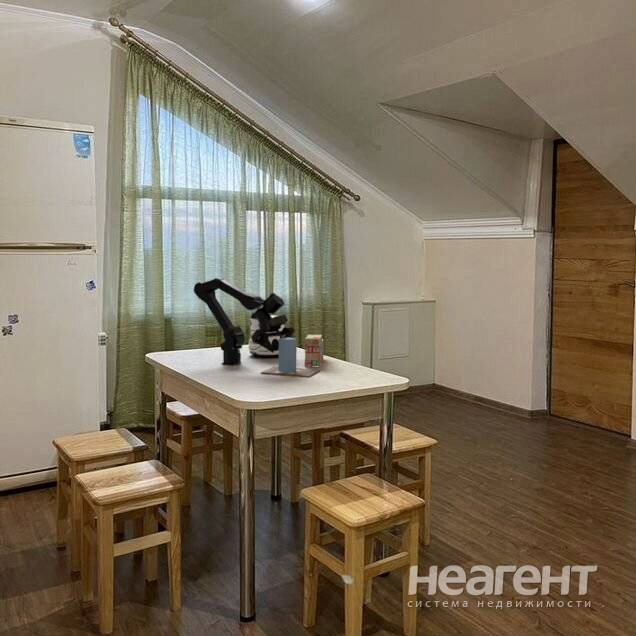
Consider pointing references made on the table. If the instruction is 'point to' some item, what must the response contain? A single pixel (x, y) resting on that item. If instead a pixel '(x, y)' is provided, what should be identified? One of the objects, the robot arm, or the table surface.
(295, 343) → the blue pillar
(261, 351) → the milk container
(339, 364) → the table surface
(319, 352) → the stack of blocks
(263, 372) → the letter board
